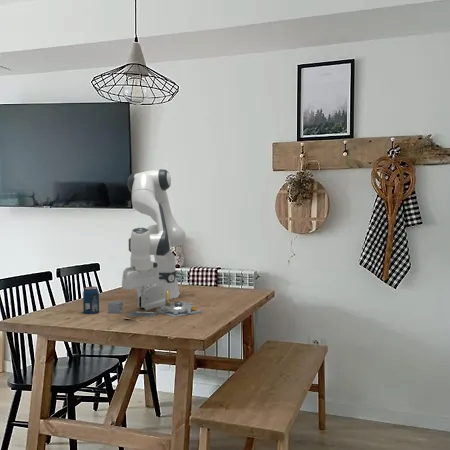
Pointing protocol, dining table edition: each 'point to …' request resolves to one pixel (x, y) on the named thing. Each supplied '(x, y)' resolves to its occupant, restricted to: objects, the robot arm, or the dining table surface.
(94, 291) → the soda can
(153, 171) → the robot arm
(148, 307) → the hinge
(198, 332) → the dining table surface
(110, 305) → the link block
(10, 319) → the dining table surface
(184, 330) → the dining table surface
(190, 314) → the sprocket base
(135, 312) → the pad
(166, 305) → the sprocket
